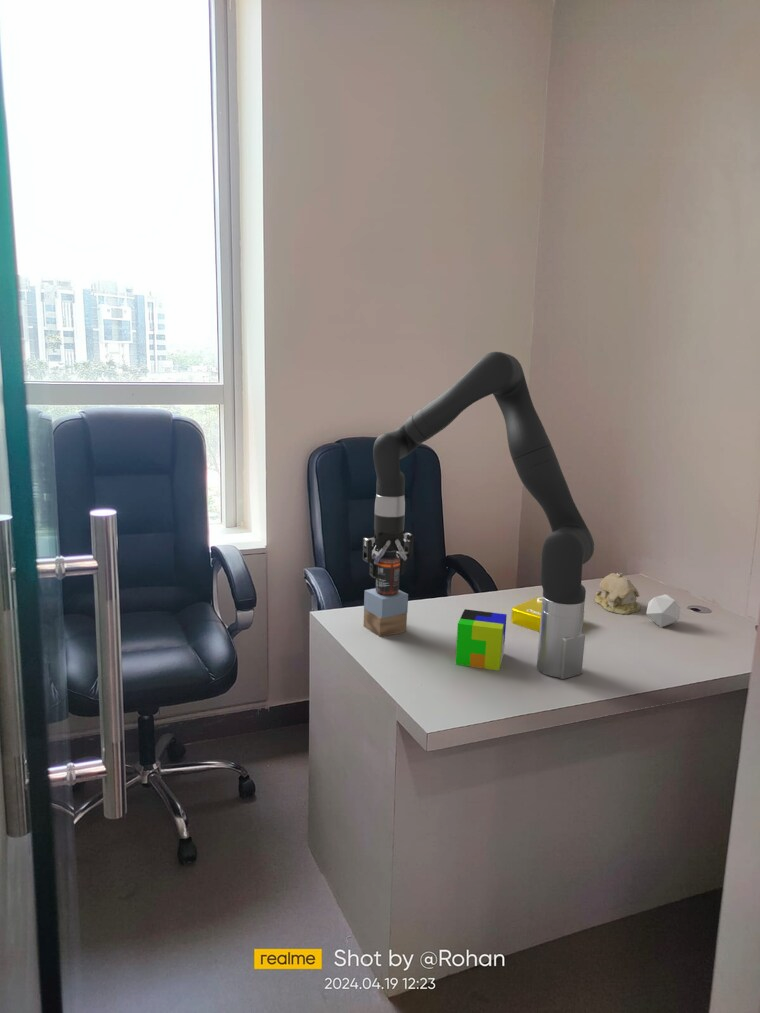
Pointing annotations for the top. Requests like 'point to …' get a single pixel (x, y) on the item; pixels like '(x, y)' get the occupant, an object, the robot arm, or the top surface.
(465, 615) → the puzzle toy
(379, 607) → the tower top block
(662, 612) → the die
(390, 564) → the supplement bottle
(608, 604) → the ceramic model
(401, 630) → the tower base block
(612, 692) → the top surface
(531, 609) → the element tile
